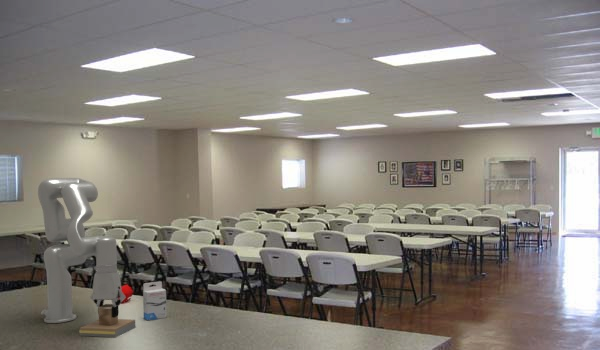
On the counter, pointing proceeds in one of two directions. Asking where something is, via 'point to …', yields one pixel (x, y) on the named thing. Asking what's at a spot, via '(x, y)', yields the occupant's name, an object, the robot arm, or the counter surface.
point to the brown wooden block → (106, 315)
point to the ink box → (154, 301)
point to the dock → (107, 328)
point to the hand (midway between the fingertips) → (108, 316)
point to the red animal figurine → (126, 292)
